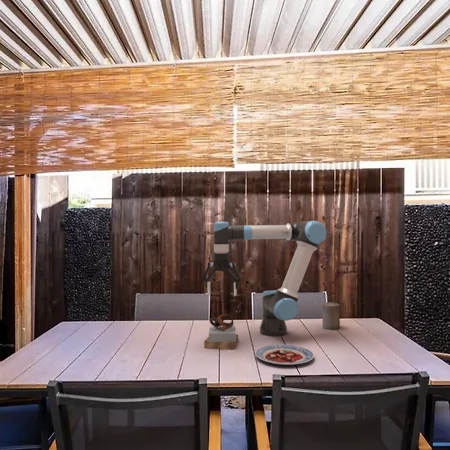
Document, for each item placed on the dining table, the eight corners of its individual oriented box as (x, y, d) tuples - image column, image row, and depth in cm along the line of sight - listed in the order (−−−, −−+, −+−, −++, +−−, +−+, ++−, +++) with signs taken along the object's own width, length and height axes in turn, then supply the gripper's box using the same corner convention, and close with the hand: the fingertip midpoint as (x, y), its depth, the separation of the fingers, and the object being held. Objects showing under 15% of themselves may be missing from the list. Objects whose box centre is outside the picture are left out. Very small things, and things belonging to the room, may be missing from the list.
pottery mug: (231, 326, 200) (235, 314, 196) (230, 339, 191) (234, 327, 188) (208, 321, 199) (212, 309, 195) (206, 334, 190) (210, 321, 187)
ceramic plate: (301, 373, 154) (301, 366, 154) (245, 362, 168) (245, 355, 168) (321, 354, 176) (321, 348, 176) (270, 346, 190) (270, 340, 190)
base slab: (238, 342, 198) (238, 334, 198) (232, 351, 184) (232, 342, 184) (212, 340, 201) (212, 333, 201) (204, 349, 188) (204, 341, 188)
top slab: (235, 334, 199) (234, 326, 199) (235, 341, 186) (235, 333, 186) (209, 334, 199) (209, 326, 199) (209, 342, 186) (208, 333, 186)
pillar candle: (342, 327, 223) (341, 301, 223) (337, 331, 214) (336, 304, 215) (325, 324, 228) (325, 299, 228) (320, 328, 220) (319, 302, 220)
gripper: (247, 252, 193) (248, 294, 193) (200, 252, 200) (200, 293, 200) (244, 253, 186) (245, 297, 186) (195, 253, 192) (195, 295, 192)
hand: (222, 295), depth 193 cm, fingers open, 13 cm apart
